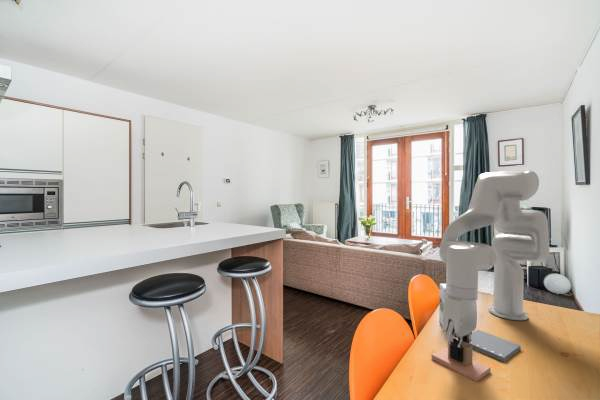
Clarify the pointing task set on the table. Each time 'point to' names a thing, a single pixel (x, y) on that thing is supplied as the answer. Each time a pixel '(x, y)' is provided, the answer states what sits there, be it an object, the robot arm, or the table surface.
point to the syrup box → (442, 300)
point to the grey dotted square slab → (493, 345)
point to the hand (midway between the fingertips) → (460, 357)
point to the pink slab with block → (468, 365)
